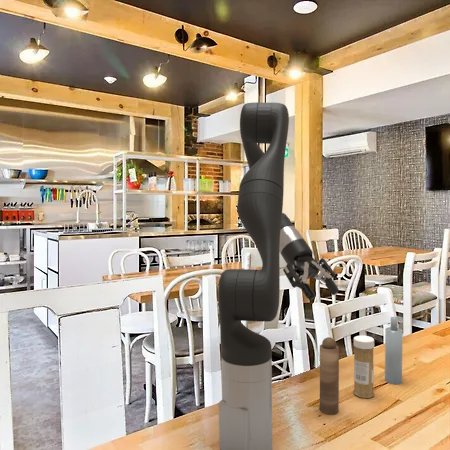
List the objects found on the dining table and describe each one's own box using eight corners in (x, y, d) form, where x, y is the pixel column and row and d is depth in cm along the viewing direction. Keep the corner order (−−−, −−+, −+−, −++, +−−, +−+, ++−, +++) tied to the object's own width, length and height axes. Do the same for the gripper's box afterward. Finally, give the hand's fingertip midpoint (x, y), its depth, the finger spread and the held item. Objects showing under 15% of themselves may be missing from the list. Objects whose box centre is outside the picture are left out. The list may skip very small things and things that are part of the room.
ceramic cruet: (399, 385, 104) (399, 321, 103) (382, 381, 106) (383, 318, 105) (404, 380, 107) (405, 317, 106) (387, 376, 109) (388, 314, 108)
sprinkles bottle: (378, 395, 99) (378, 338, 98) (365, 400, 96) (365, 342, 96) (361, 388, 103) (362, 333, 102) (349, 393, 100) (349, 337, 99)
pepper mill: (333, 416, 90) (333, 342, 89) (316, 410, 92) (316, 338, 91) (341, 409, 93) (342, 337, 92) (324, 403, 95) (324, 333, 94)
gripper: (279, 239, 110) (313, 291, 101) (317, 235, 118) (351, 283, 110) (266, 257, 114) (297, 308, 106) (303, 252, 123) (335, 299, 114)
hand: (324, 295), depth 108 cm, fingers open, 8 cm apart
